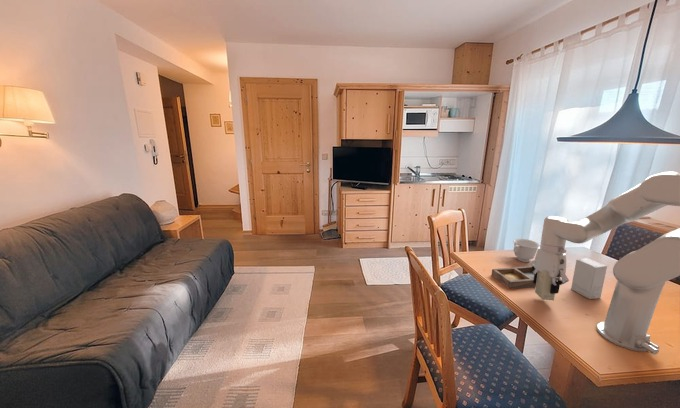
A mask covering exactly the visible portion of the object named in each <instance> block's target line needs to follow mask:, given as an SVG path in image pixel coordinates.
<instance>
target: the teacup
mask: <svg viewBox="0 0 680 408" xmlns="http://www.w3.org/2000/svg"><path fill="white" fill-rule="evenodd" d="M512 242H513V244H514V246H513V253H514V255H515V257H516V259H517V261H520V262H523V263H530V260H534V259H535V257H536V254H537V251H538V249H539V247H540V244H539V243H538V242H536V241H533V240H530V239H526V238H515V239H513V241H512Z"/></svg>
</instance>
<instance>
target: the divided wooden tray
mask: <svg viewBox="0 0 680 408" xmlns="http://www.w3.org/2000/svg"><path fill="white" fill-rule="evenodd" d="M491 277H493V278H494V279H496V280H497V281H498V282H500V283H501V284H503V285H504V286H505V287H507V288H508V289H510V290H512V289H523V288H531V287H533V288H534V287H536V284H534V283H533V280H534V274H533V269H532V266H531V265H525V266H517V267H516V266H515V267H514V266H513V267H502V268H492V270H491Z"/></svg>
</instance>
